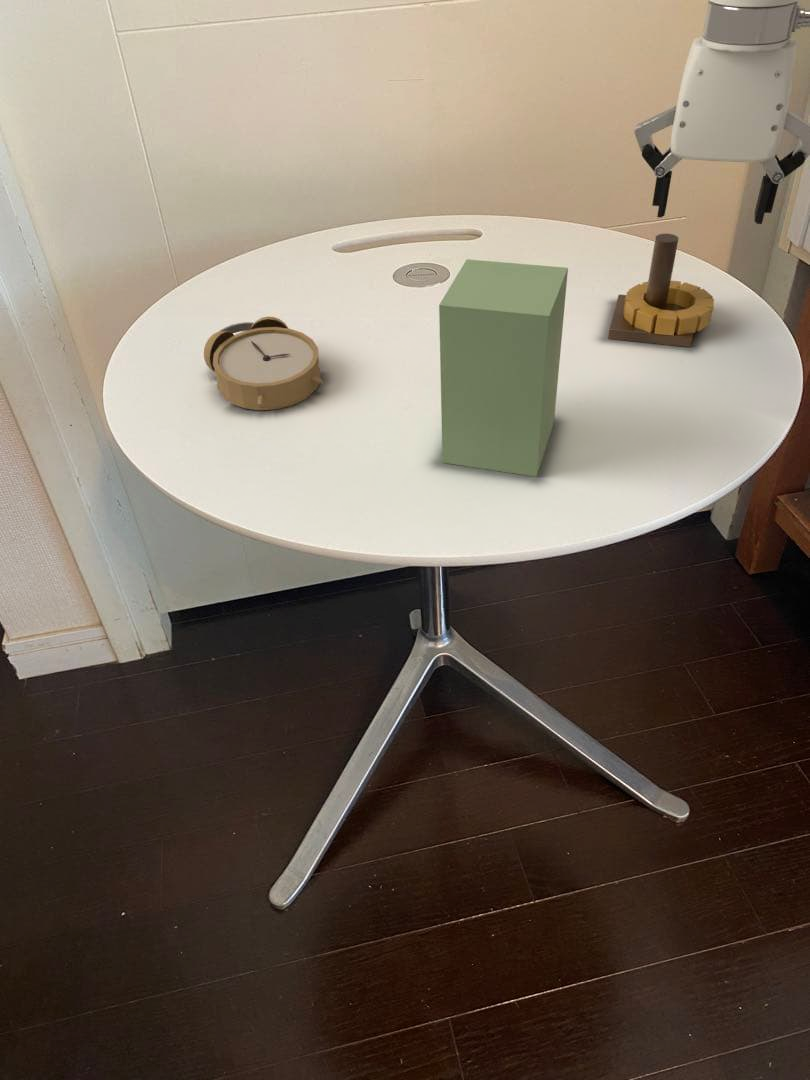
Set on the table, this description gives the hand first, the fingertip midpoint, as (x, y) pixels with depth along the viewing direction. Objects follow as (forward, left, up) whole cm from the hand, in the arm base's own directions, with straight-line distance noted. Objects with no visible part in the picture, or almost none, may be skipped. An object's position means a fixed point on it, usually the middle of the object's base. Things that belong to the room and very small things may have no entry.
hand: (709, 215), depth 84 cm
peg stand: (+4, 0, -13) cm, 13 cm away
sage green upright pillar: (+16, +27, -13) cm, 34 cm away
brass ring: (+2, 0, -11) cm, 11 cm away
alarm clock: (+44, +21, -13) cm, 50 cm away
